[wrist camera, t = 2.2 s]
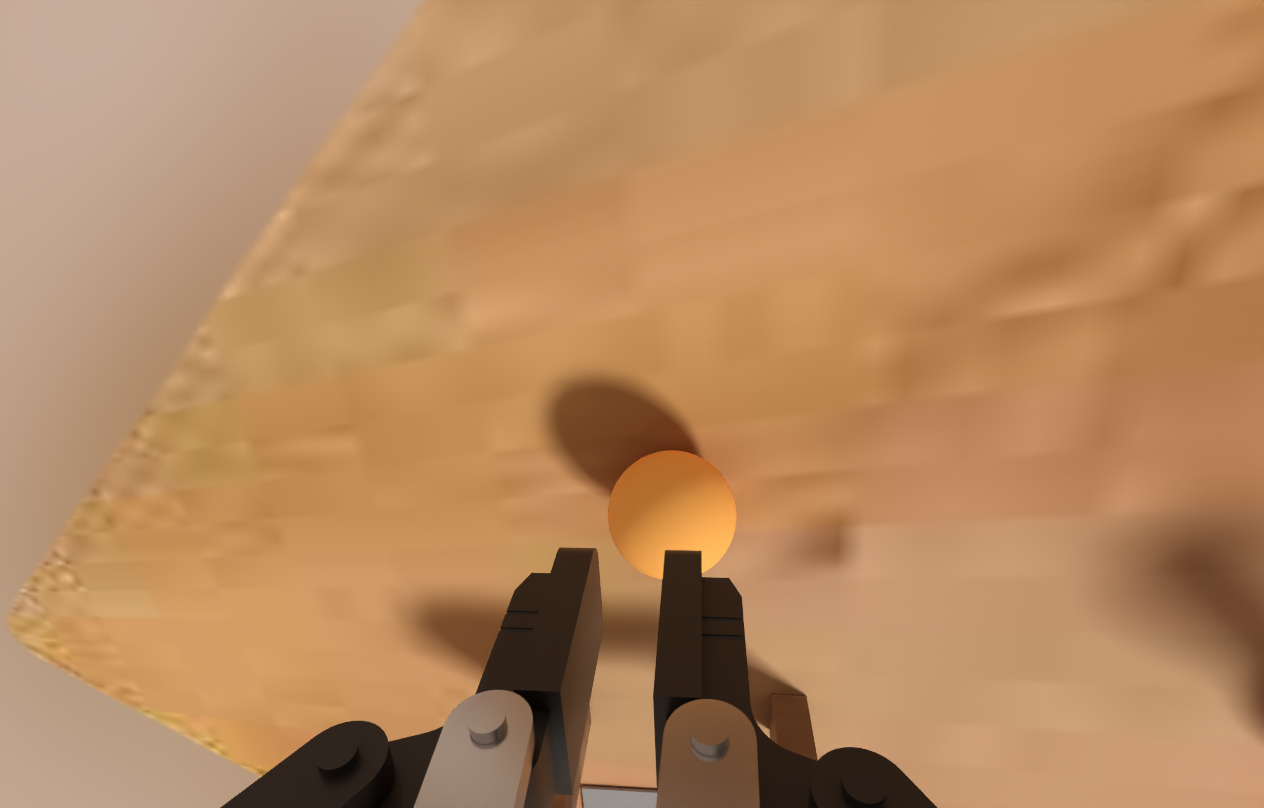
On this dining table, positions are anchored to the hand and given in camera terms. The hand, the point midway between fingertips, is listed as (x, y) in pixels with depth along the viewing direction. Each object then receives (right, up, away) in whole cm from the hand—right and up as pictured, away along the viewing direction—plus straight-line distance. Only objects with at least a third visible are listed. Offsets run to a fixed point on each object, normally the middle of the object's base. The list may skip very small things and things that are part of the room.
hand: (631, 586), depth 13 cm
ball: (+2, -2, +18) cm, 18 cm away
